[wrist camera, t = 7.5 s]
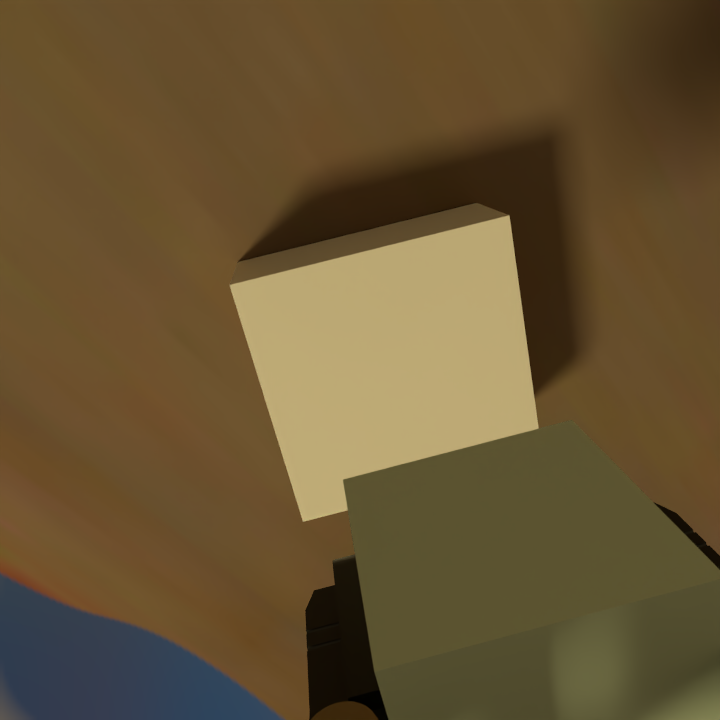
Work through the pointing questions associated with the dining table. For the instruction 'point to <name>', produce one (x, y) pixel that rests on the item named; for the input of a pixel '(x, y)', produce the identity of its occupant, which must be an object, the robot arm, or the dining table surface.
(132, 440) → the dining table surface
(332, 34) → the dining table surface
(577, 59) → the dining table surface
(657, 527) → the cube
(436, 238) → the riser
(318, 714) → the robot arm
